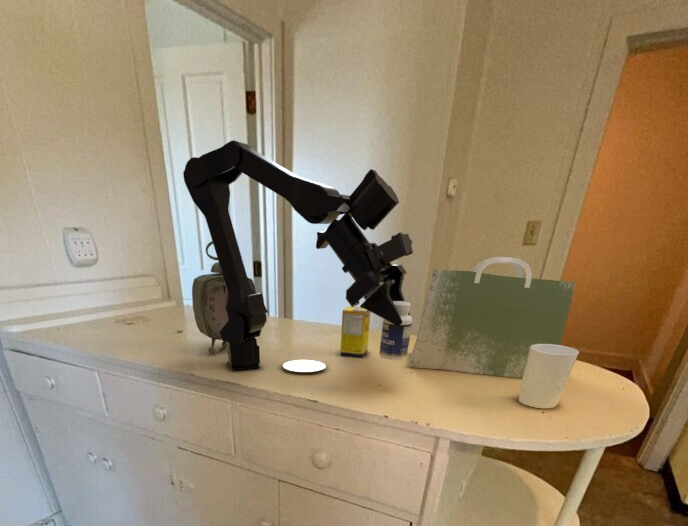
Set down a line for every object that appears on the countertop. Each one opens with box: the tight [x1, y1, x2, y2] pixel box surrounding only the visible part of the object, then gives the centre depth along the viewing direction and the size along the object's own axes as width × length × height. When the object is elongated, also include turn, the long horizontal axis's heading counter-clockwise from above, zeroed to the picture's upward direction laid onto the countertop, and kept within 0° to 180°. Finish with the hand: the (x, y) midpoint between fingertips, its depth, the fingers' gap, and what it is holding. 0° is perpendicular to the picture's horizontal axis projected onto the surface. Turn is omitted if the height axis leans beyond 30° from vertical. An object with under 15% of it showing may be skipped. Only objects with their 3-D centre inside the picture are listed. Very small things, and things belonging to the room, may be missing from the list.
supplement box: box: [340, 306, 372, 358], centre depth 108 cm, size 6×6×11 cm
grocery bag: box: [409, 256, 576, 379], centre depth 96 cm, size 32×14×23 cm, turn 73°
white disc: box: [282, 359, 327, 376], centre depth 99 cm, size 10×10×1 cm
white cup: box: [518, 344, 580, 409], centre depth 79 cm, size 8×8×10 cm
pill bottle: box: [378, 301, 413, 361], centre depth 81 cm, size 5×5×10 cm
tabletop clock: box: [191, 240, 257, 355], centre depth 106 cm, size 14×9×25 cm, turn 120°
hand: (404, 321), depth 79 cm, fingers closed on pill bottle, 5 cm apart
